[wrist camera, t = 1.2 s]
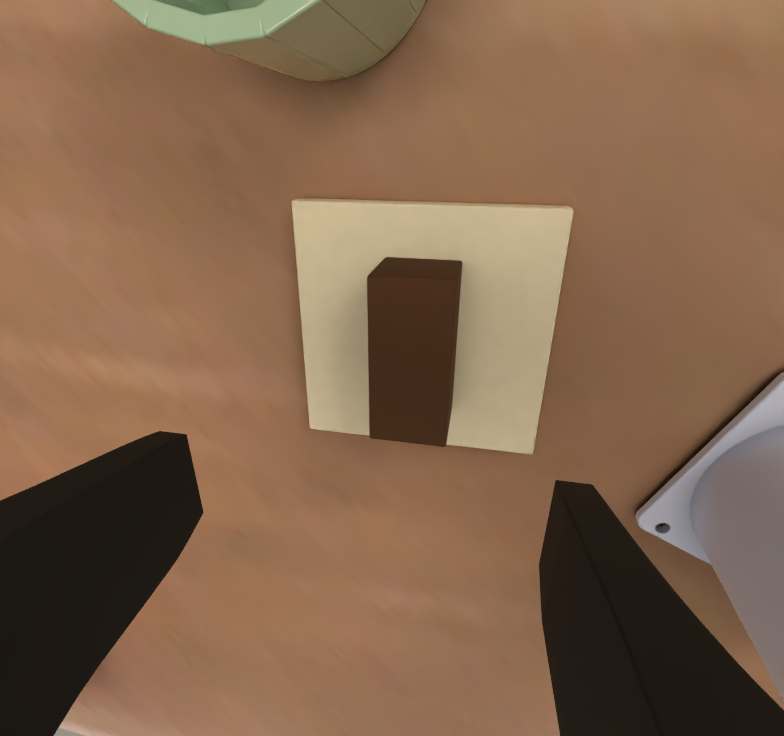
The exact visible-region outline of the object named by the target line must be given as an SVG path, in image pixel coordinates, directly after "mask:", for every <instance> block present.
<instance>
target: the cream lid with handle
mask: <svg viewBox="0 0 784 736" xmlns="http://www.w3.org/2000/svg"><path fill="white" fill-rule="evenodd" d="M573 212H574V211H573V209H572V208H571V207H570V206H561V205H526V204H491V203H456V202H421V201H386V200H352V199H317V198H299V199H295V200H293V201H292V214H293V226H294V239H295V251H296V263H297V276H298V288H299V300H300V313H301V325H302V337H303V350H304V362H305V374H306V387H307V399H308V411H309V424H310V428H311V429H317V430H325V431H334V432H343V433H351V434H360V435H368V436H370V438H374V439H382V440H391V441H400V442H408V443H417V444H425V445H434V446H442V447H444V446H446V445H455V446H463V447H472V448H481V449H489V450H498V451H506V452H515V453H524V454H533V452H534V446H535V440H536V434H537V428H538V422H539V416H540V410H541V404H542V398H543V392H544V386H545V380H546V374H547V368H548V362H549V356H550V350H551V344H552V338H553V332H554V326H555V320H556V314H557V308H558V302H559V296H560V290H561V284H562V278H563V272H564V266H565V260H566V254H567V248H568V242H569V236H570V230H571V224H572V218H573Z"/></svg>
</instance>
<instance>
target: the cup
mask: <svg viewBox="0 0 784 736" xmlns="http://www.w3.org/2000/svg"><path fill="white" fill-rule="evenodd" d="M111 1H113V2H114V3H115V4H117V5H118V6H119V7H120V8H122V9H123V10H124V11H125V12H127V13H128V14H129V15H131V16H132V17H133V18H134V19H136V20H137V21H138V22H140V23H141V24H142V25H143V26H145V27H148V28H149V29H151V30H153V31H156V32H159V33H162V34H165V35H168V36H171V37H174V38H177V39H180V40H183V41H186V42H189V43H192V44H195V45H198V46H201V47H204V48H207V49H210V50H213V51H215V52H218V53H221V54H224V55H227V56H230V57H233V58H236V59H239V60H242V61H245V62H248V63H251V64H254V65H257V66H260V67H263V68H266V69H269V70H272V71H275V72H279V73H282V74H285V75H288V76H291V77H295V78H298V79H301V80H310V81H332V80H337V79H342V78H347V77H349V76H352V75H355V74H357V73H360V72H362V71H364V70H365V69H367V68H369V67H371V66H373V65H374V64H376V63H377V62H378V61H380V60H381V59H382V58H384V57H385V56H386V55H387V54H388V53H389V52H390V51H391V50H392V49H393V48H394V47H395V46H396V45H397V44H398V43H399V42H400V41H401V40H402V39H403V37H404V36H405V35H406V33H407V32H408V31H409V30H410V28H411V27H412V25H413V23H414V22H415V20H416V18H417V17H418V15H419V13H420V12H421V10H422V8H423V5H424V3H425V1H426V0H111Z"/></svg>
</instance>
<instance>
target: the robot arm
mask: <svg viewBox="0 0 784 736" xmlns="http://www.w3.org/2000/svg"><path fill="white" fill-rule="evenodd" d="M202 514H203V508H202V504H201V499H200V495H199V490H198V485H197V481H196V476H195V472H194V467H193V462H192V458H191V453H190V449H189V444H188V439H187V435H186V434H179V433H170V432H162V431H159V432H156V433H153V434H150V435H148V436H145V437H143V438H140V439H138V440H135V441H133V442H131V443H128V444H126V445H124V446H121V447H119V448H117V449H115V450H112V451H110V452H108V453H106V454H104V455H101V456H99V457H97V458H95V459H93V460H90V461H88V462H86V463H84V464H82V465H79V466H77V467H75V468H73V469H71V470H69V471H66V472H64V473H62V474H60V475H58V476H55V477H53V478H51V479H49V480H47V481H44V482H42V483H40V484H38V485H36V486H33V487H31V488H29V489H26V490H24V491H22V492H19V493H17V494H15V495H12V496H10V497H8V498H5V499H3V500H1V501H0V736H53V735H54V734H55V732H56V731H57V729H58V727H59V726H60V724H61V723H62V721H63V719H64V718H65V716H66V715H67V713H68V711H69V710H70V708H71V706H72V705H73V703H74V702H75V700H76V698H77V697H78V695H79V694H80V692H81V691H82V689H83V688H84V686H85V685H86V684H87V682H88V681H89V679H90V678H91V676H92V675H93V673H94V672H95V670H96V669H97V668H98V666H99V665H100V663H101V662H102V661H103V659H104V658H105V657H106V655H107V654H108V653H109V651H110V650H111V649H112V647H113V646H114V645H115V643H116V642H117V641H118V639H119V638H120V637H121V635H122V634H123V632H124V631H125V630H126V628H127V627H128V626H129V624H130V623H131V622H132V620H133V619H134V618H135V616H136V615H137V614H138V612H139V611H140V610H141V608H142V607H143V606H144V604H145V603H146V602H147V600H148V599H149V598H150V596H151V595H152V593H153V592H154V591H155V589H156V588H157V587H158V585H159V584H160V582H161V581H162V580H163V578H164V577H165V576H166V574H167V573H168V571H169V570H170V569H171V567H172V566H173V564H174V563H175V562H176V560H177V559H178V557H179V556H180V554H181V552H182V550H183V549H184V547H185V545H186V544H187V542H188V540H189V538H190V537H191V535H192V533H193V531H194V529H195V527H196V525H197V523H198V522H199V520H200V518H201V516H202ZM635 518H636V521H637V523H638V525H639V527H640V528H642V529H643V530H645V531H647V532H649V533H651V534H653V535H654V536H656V537H658V538H660V539H662V540H664V541H666V542H668V543H670V544H672V545H674V546H676V547H678V548H680V549H681V550H683V551H685V552H687V553H689V554H691V555H693V556H695V557H697V558H699V559H701V560H703V561H705V562H707V563H708V564H710V565H712V567H713V569H714V571H715V573H716V574H717V576H718V578H719V580H720V582H721V584H722V586H723V588H724V590H725V592H726V594H727V596H728V597H729V599H730V601H731V603H732V605H733V607H734V609H735V611H736V613H737V615H738V617H739V619H740V620H741V622H742V624H743V626H744V628H745V630H746V632H747V634H748V636H749V638H750V640H751V642H752V643H753V645H754V647H755V649H756V651H757V653H758V655H759V657H760V659H761V661H762V663H763V664H764V666H765V668H766V670H767V672H768V674H769V676H770V678H771V680H772V682H773V684H774V686H775V687H776V689H777V691H778V693H779V695H780V697H781V699H782V701H783V703H784V372H782V373H781V374H780V375H778V376H777V377H776V378H775V379H774V380H773V381H772V382H771V383H770V384H769V385H768V386H767V387H766V388H765V389H764V390H763V391H762V392H761V393H760V394H759V395H758V396H757V397H756V398H755V399H753V400H752V401H751V402H750V403H749V404H748V405H747V406H746V407H745V408H744V409H743V410H742V411H741V412H740V413H739V414H738V415H737V416H736V417H735V418H734V419H733V420H732V421H731V422H730V423H729V424H727V425H726V426H725V427H724V428H723V429H722V430H721V431H720V432H719V433H718V434H717V435H716V436H715V437H714V438H713V439H712V440H711V441H710V442H709V443H708V444H707V445H706V446H705V447H704V448H703V449H702V450H700V451H699V452H698V453H697V454H696V455H695V456H694V457H693V458H692V459H691V460H690V461H689V462H688V463H687V464H686V465H685V466H684V467H683V468H682V469H681V470H680V471H679V472H678V473H677V474H676V475H674V476H673V477H672V478H671V479H670V480H669V481H668V482H667V483H666V484H665V485H664V486H663V487H662V488H661V489H660V490H659V491H658V492H657V493H656V494H655V495H654V496H653V497H652V498H651V499H650V500H648V501H647V502H646V503H645V504H644V505H643V506H642V507H641V508H640V509H639V510H638V511H637V513H636V517H635ZM660 523H666V524H664V525H663V526H656V525H658V524H660ZM539 571H540V594H541V611H542V624H543V631H544V637H545V643H546V650H547V656H548V662H549V669H550V675H551V681H552V687H553V693H554V699H555V706H556V712H557V718H558V724H559V730H560V736H784V710H783V709H782V708H781V707H780V706H779V705H778V704H777V703H776V702H775V701H774V700H773V699H772V698H771V697H770V696H769V695H768V694H767V693H766V692H765V691H764V690H763V689H762V688H761V687H760V686H759V685H758V684H757V683H756V682H755V681H754V680H753V679H752V678H751V677H750V676H749V674H748V673H747V672H746V671H745V670H744V669H743V668H742V667H741V666H740V665H739V664H738V663H737V662H736V661H735V660H734V659H733V657H732V656H731V655H730V654H729V653H728V652H727V651H726V650H725V648H724V647H723V646H722V645H721V644H720V643H719V642H718V641H717V639H716V638H715V637H714V636H713V635H712V634H711V633H710V632H709V631H708V629H707V628H706V627H705V626H704V625H703V624H702V623H701V622H700V620H699V619H698V618H697V617H696V616H695V614H694V613H693V612H692V611H691V610H690V609H689V607H688V606H687V605H686V604H685V603H684V602H683V600H682V599H681V598H680V597H679V596H678V594H677V593H676V592H675V591H674V589H673V588H672V587H671V586H670V584H669V583H668V582H667V581H666V580H665V578H664V577H663V576H662V575H661V573H660V572H659V571H658V570H657V569H656V567H655V566H654V565H653V564H652V562H651V561H650V560H649V559H648V557H647V556H646V555H645V553H644V552H643V551H642V550H641V548H640V547H639V546H638V544H637V543H636V542H635V541H634V539H633V538H632V537H631V535H630V534H629V533H628V531H627V530H626V529H625V527H624V526H623V525H622V523H621V522H620V521H619V519H618V518H617V517H616V515H615V514H614V513H613V511H612V510H611V509H610V507H609V506H608V505H607V503H606V502H605V500H604V499H603V498H602V496H601V495H600V494H599V492H598V491H597V490H596V489H595V488H594V486H593V485H591V484H583V483H575V482H566V481H558V480H556V482H555V487H554V492H553V497H552V502H551V507H550V512H549V517H548V522H547V527H546V532H545V537H544V542H543V547H542V552H541V557H540V562H539Z"/></svg>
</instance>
